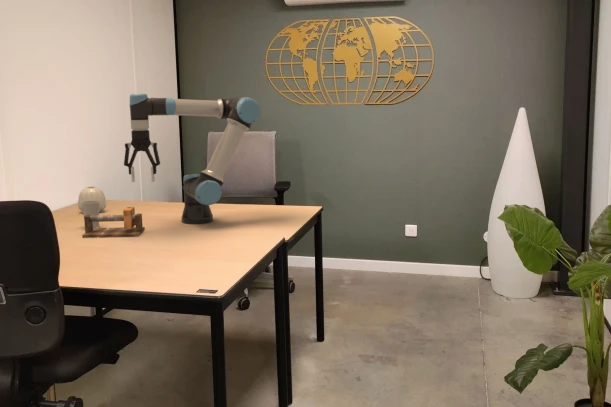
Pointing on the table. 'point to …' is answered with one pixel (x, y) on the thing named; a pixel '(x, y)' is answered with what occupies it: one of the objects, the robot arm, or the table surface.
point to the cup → (91, 209)
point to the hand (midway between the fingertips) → (143, 181)
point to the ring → (128, 217)
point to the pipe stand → (111, 232)
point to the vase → (92, 197)
